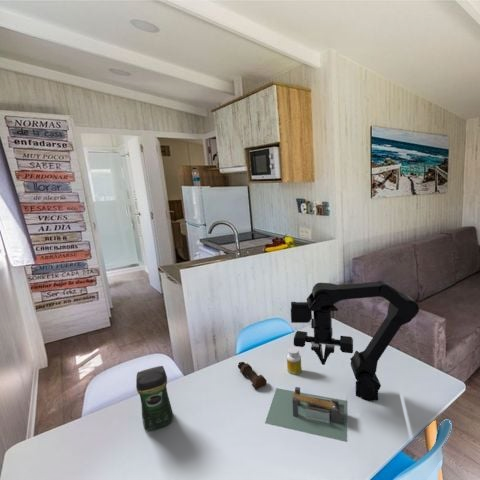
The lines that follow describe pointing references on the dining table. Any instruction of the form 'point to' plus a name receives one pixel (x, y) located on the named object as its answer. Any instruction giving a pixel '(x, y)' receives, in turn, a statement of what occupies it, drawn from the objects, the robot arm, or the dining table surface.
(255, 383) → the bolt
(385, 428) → the dining table surface
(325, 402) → the brown long flat bar
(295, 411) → the lug fork
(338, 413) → the block
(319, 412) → the heatsink
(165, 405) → the coffee jar
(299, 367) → the supplement bottle
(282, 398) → the board
